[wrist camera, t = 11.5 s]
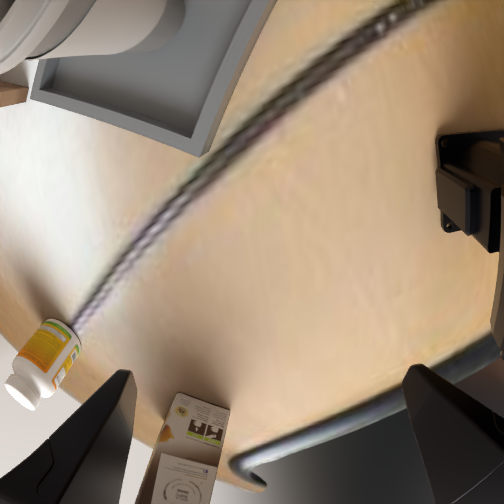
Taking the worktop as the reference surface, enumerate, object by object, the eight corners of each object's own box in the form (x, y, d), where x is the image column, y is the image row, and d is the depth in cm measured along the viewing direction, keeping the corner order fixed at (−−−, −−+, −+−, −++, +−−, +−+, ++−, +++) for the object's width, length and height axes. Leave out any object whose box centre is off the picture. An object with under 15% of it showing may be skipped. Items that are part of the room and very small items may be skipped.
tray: (299, -40, 11) (299, -54, 9) (208, 151, 18) (199, 157, 16) (113, -65, 10) (99, -74, 8) (47, 96, 17) (29, 98, 15)
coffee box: (176, 389, 30) (128, 523, 16) (232, 409, 30) (202, 545, 16) (163, 421, 34) (126, 527, 20) (209, 438, 35) (182, 545, 21)
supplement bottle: (38, 317, 28) (-9, 374, 20) (65, 316, 27) (15, 382, 19) (61, 352, 31) (22, 410, 22) (90, 354, 29) (49, 420, 21)
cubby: (93, -71, 9) (71, -83, 7) (25, 102, 17) (-1, 107, 14) (38, -61, 9) (16, -67, 6) (-16, 90, 16) (-40, 95, 14)
